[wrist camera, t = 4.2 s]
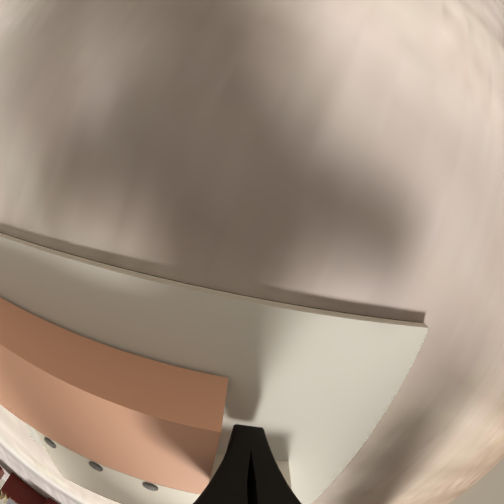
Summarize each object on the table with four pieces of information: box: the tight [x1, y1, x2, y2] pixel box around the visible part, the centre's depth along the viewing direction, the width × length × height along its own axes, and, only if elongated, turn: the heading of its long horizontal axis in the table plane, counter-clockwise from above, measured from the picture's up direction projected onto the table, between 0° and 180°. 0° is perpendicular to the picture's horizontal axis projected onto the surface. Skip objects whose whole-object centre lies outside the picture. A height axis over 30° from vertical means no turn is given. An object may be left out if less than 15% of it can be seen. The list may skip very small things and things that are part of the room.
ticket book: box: [35, 429, 292, 504], centre depth 11 cm, size 6×14×3 cm, turn 78°
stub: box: [0, 297, 228, 494], centre depth 9 cm, size 6×14×3 cm, turn 78°
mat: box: [0, 233, 429, 504], centre depth 12 cm, size 19×24×1 cm
